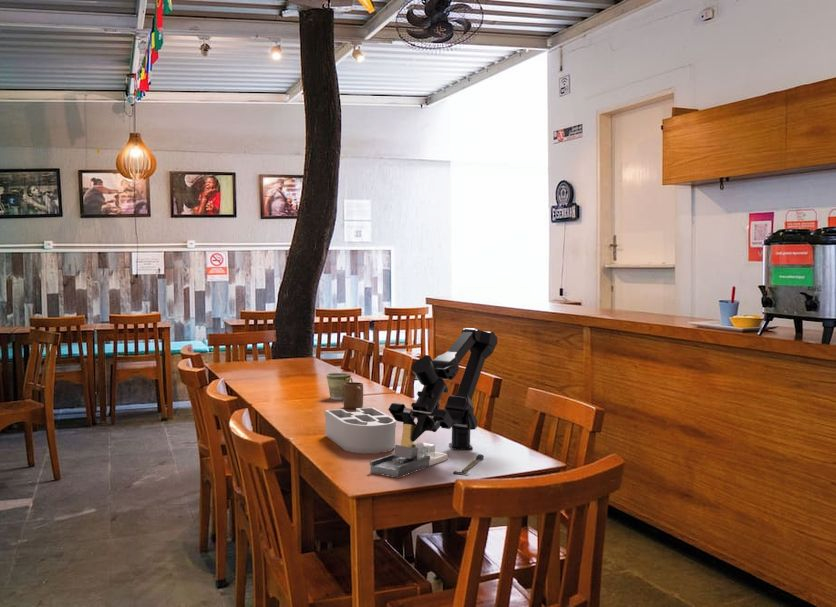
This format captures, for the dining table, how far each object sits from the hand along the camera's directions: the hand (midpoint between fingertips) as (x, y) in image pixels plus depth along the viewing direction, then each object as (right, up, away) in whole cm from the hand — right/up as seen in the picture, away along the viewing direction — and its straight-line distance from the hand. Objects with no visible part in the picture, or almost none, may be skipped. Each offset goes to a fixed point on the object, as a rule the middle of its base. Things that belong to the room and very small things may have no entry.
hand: (408, 440), depth 217 cm
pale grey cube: (+1, -5, +2) cm, 6 cm away
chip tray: (+5, -7, +8) cm, 12 cm away
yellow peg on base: (-1, -5, -1) cm, 5 cm away
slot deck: (-2, -8, -3) cm, 8 cm away
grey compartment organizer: (-15, -6, +28) cm, 32 cm away
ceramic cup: (-29, -2, +108) cm, 112 cm away
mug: (-22, -3, +87) cm, 89 cm away
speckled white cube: (+4, -5, +6) cm, 9 cm away
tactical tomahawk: (+19, -8, +2) cm, 20 cm away
